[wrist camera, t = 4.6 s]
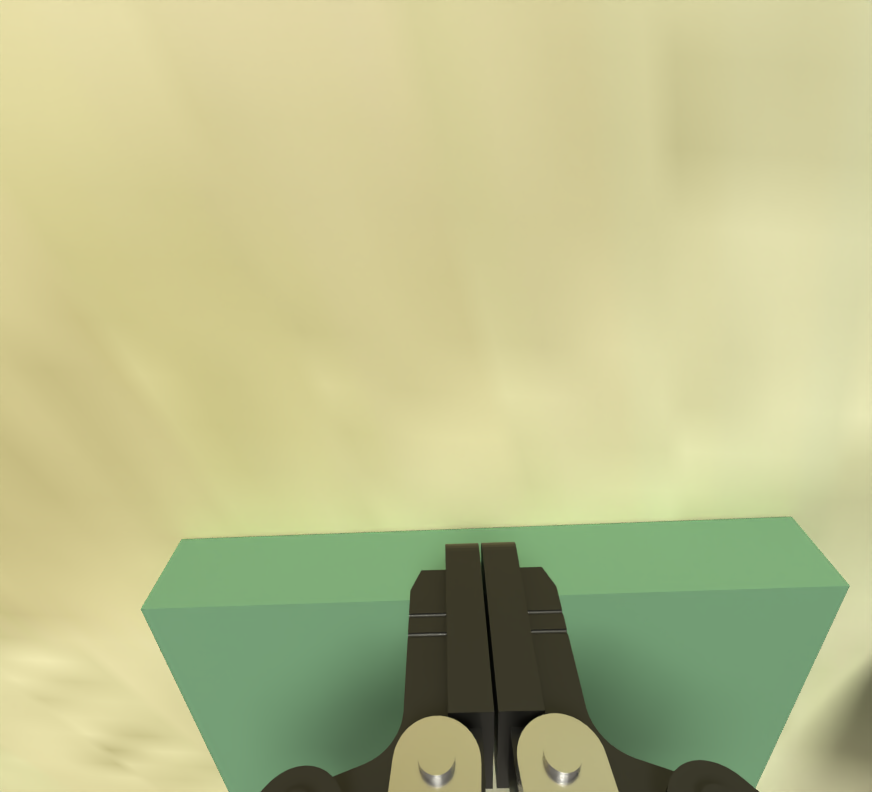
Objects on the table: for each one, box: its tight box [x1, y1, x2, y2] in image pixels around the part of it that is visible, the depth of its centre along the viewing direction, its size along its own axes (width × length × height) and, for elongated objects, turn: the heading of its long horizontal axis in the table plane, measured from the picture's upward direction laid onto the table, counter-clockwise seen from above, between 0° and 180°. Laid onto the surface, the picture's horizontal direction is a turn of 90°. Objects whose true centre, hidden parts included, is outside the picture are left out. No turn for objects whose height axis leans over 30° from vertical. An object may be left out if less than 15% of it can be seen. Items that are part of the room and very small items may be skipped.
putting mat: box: [141, 517, 849, 792], centre depth 20 cm, size 18×22×2 cm
